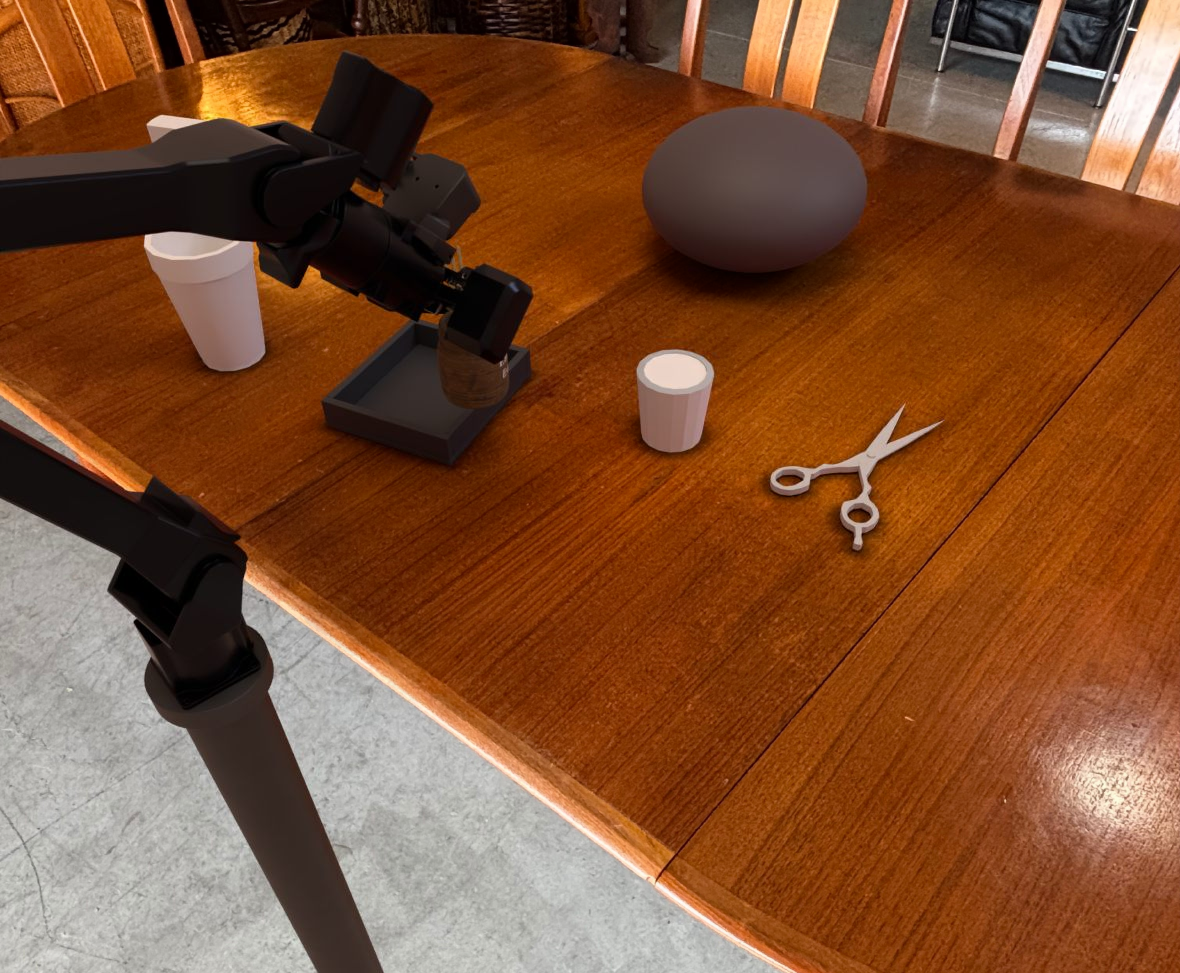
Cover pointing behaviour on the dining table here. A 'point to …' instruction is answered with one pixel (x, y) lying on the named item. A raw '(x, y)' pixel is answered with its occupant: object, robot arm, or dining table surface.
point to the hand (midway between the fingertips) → (480, 318)
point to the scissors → (857, 463)
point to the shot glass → (673, 398)
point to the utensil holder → (468, 369)
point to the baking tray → (413, 397)
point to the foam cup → (212, 295)
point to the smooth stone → (754, 189)
